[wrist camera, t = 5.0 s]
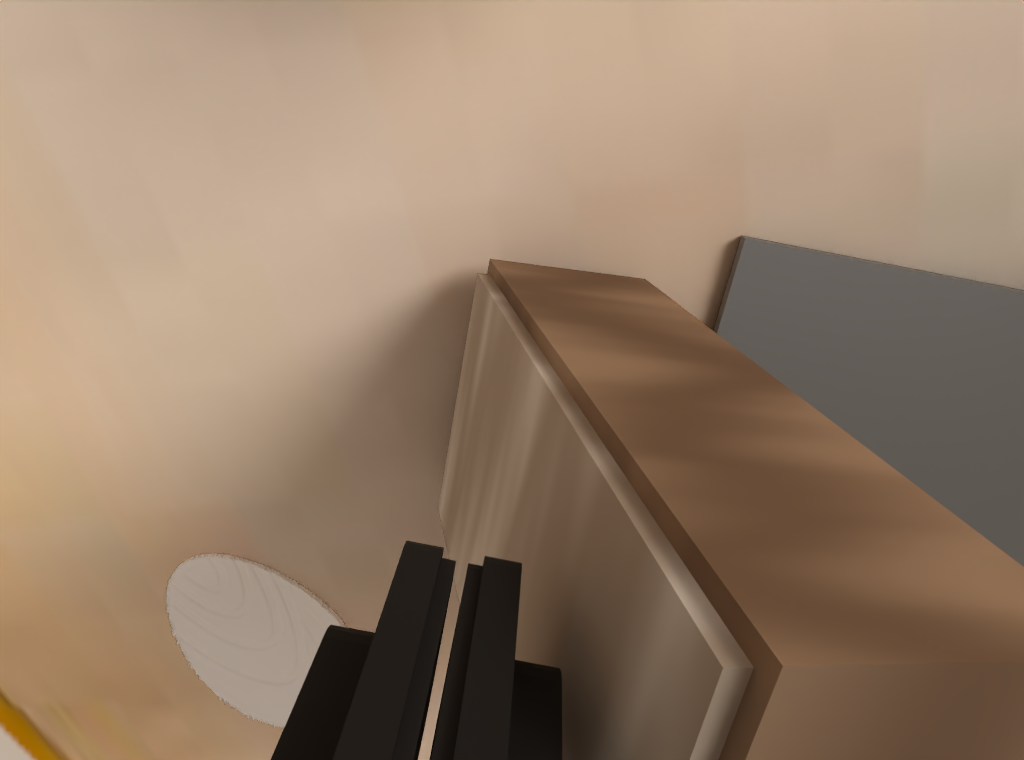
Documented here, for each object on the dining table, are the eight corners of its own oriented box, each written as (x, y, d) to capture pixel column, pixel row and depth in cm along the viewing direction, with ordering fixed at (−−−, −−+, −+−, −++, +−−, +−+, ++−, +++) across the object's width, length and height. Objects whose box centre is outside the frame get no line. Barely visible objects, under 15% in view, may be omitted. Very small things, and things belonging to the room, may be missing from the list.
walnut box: (645, 279, 19) (1143, 658, 7) (584, 516, 21) (882, 1078, 10) (477, 257, 18) (750, 667, 6) (435, 511, 20) (569, 1139, 9)
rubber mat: (1298, 343, 19) (1313, 348, 18) (1107, 660, 22) (1117, 669, 22) (741, 235, 18) (745, 238, 18) (641, 573, 22) (642, 582, 22)
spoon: (462, 927, 28) (461, 942, 28) (128, 592, 24) (119, 603, 23) (582, 879, 27) (583, 894, 27) (254, 513, 22) (247, 522, 22)
